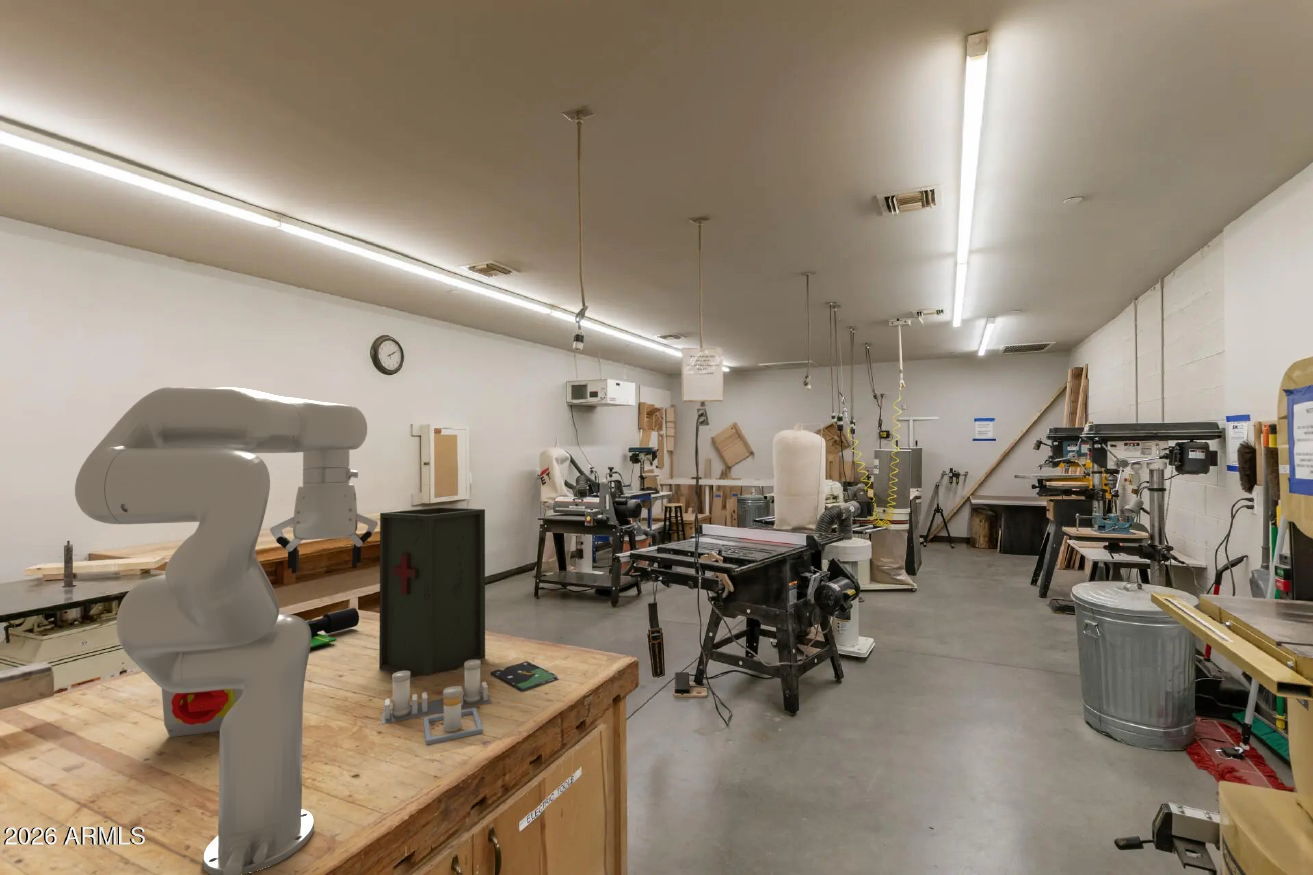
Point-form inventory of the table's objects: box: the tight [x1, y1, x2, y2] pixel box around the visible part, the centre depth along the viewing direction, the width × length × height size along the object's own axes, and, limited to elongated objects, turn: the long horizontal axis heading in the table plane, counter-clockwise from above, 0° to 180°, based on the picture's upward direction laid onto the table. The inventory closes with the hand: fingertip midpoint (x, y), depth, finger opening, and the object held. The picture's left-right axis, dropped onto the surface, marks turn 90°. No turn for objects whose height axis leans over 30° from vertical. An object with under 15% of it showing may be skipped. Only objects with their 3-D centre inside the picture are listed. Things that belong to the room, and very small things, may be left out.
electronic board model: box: [304, 606, 360, 649], centre depth 163 cm, size 30×7×15 cm
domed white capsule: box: [391, 671, 411, 717], centre depth 114 cm, size 3×3×8 cm
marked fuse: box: [442, 685, 463, 732], centre depth 108 cm, size 3×3×8 cm
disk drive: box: [490, 660, 560, 693], centre depth 132 cm, size 10×3×15 cm
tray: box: [423, 707, 484, 746], centre depth 108 cm, size 10×10×2 cm
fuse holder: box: [381, 681, 492, 725], centre depth 117 cm, size 7×21×4 cm, turn 115°
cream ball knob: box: [463, 660, 482, 703], centre depth 120 cm, size 3×3×8 cm
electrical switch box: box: [161, 688, 243, 738], centre depth 111 cm, size 15×15×20 cm
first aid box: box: [378, 506, 486, 679], centre depth 147 cm, size 18×18×40 cm
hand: (325, 569), depth 103 cm, fingers open, 9 cm apart
